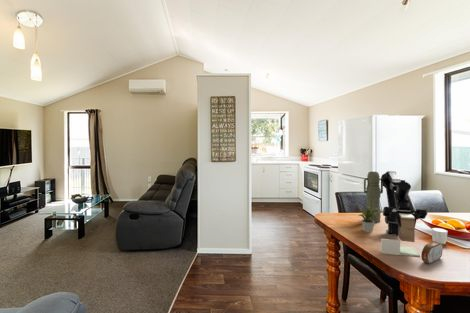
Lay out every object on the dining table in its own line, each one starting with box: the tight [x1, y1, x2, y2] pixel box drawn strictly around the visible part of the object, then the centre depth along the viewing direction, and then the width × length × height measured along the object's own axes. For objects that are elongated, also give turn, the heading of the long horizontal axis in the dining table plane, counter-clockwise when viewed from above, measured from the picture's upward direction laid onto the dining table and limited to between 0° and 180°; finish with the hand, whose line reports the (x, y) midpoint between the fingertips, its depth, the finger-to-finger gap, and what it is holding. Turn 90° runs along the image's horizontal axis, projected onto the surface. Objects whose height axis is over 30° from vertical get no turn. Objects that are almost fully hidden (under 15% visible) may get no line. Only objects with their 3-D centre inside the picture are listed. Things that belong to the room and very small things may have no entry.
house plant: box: [357, 205, 379, 233], centre depth 154 cm, size 14×14×16 cm
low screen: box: [380, 238, 401, 256], centre depth 123 cm, size 2×8×7 cm, turn 70°
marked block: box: [398, 213, 416, 243], centre depth 124 cm, size 6×6×12 cm
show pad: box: [399, 245, 421, 258], centre depth 125 cm, size 9×9×1 cm
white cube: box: [431, 227, 448, 245], centre depth 136 cm, size 7×7×7 cm
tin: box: [420, 240, 444, 264], centre depth 115 cm, size 15×3×8 cm, turn 118°
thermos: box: [363, 171, 384, 224], centre depth 174 cm, size 9×12×35 cm
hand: (407, 227), depth 123 cm, fingers closed on marked block, 5 cm apart
